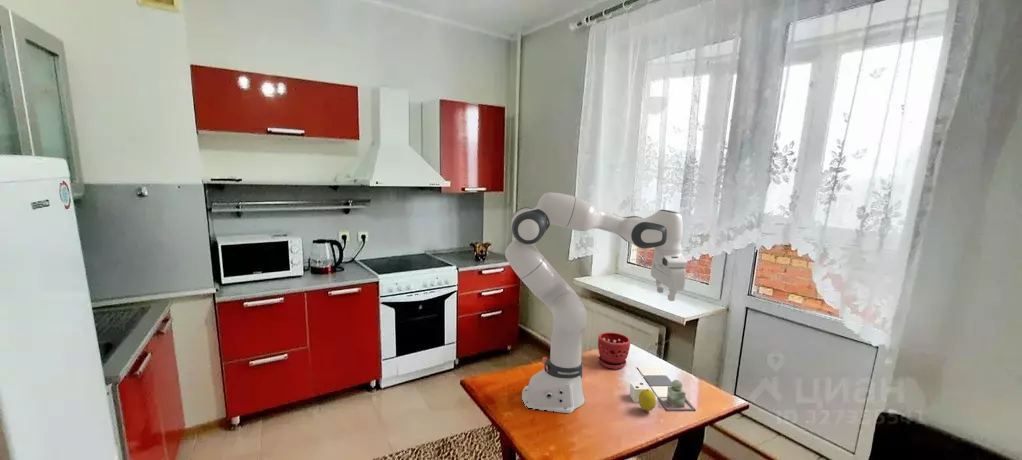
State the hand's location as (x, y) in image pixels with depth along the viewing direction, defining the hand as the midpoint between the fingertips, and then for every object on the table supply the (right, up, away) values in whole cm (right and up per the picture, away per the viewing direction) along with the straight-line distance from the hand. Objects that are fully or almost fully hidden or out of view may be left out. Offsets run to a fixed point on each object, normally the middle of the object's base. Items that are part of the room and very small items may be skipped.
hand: (665, 296), depth 141 cm
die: (-7, -38, +6) cm, 39 cm away
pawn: (+5, -39, +3) cm, 39 cm away
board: (+5, -37, +14) cm, 40 cm away
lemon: (-7, -39, -2) cm, 40 cm away
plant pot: (-10, -35, +33) cm, 49 cm away
